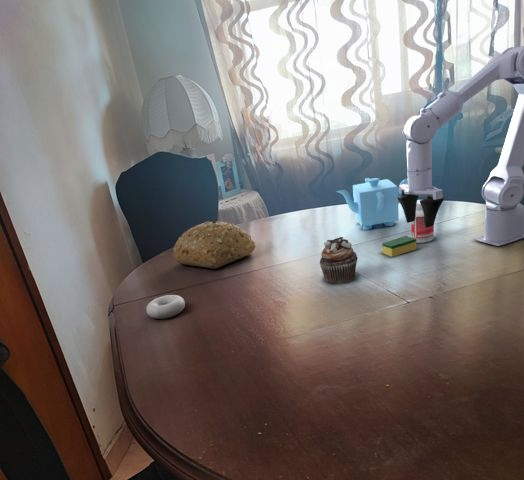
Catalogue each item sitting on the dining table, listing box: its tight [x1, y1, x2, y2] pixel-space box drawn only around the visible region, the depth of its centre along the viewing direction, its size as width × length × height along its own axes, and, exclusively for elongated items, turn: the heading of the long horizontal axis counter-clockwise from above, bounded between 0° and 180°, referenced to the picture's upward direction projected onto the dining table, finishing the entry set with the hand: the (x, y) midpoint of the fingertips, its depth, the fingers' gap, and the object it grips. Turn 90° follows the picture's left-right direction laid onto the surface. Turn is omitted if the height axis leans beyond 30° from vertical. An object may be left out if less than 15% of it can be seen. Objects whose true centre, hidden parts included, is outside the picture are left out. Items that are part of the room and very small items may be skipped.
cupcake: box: [319, 236, 358, 284], centre depth 118 cm, size 10×10×10 cm
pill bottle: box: [410, 199, 435, 244], centre depth 132 cm, size 6×6×11 cm
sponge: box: [381, 235, 417, 258], centre depth 129 cm, size 8×4×3 cm, turn 111°
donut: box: [145, 294, 186, 320], centre depth 118 cm, size 10×3×10 cm
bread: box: [172, 220, 256, 270], centre depth 150 cm, size 24×21×12 cm
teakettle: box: [335, 177, 408, 231], centre depth 154 cm, size 19×19×15 cm
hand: (419, 224), depth 120 cm, fingers open, 7 cm apart
